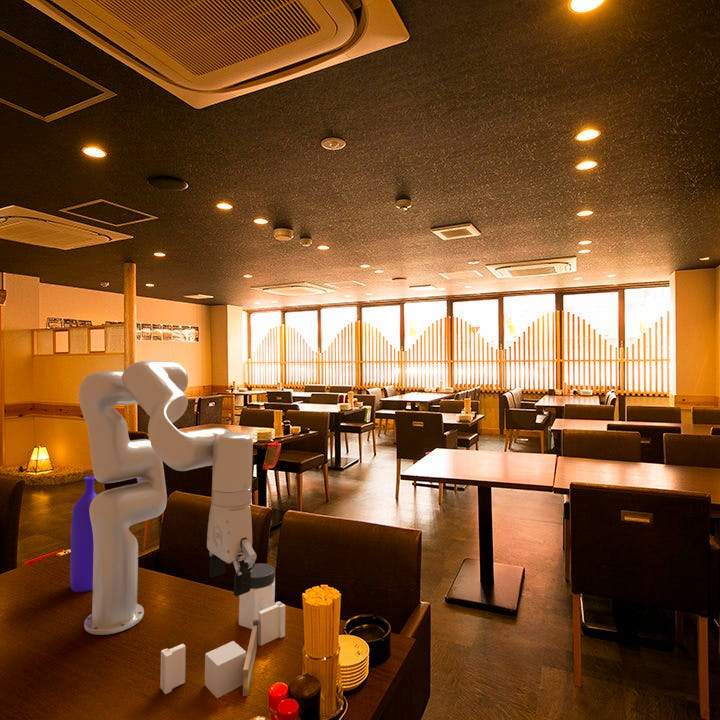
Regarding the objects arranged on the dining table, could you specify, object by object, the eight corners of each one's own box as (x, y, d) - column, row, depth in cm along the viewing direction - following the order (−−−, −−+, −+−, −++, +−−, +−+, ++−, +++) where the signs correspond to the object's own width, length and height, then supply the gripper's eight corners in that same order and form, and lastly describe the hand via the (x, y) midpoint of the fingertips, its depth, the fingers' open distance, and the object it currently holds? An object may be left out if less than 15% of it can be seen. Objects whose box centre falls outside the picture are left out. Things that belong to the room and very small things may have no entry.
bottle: (84, 577, 132) (87, 473, 132) (111, 580, 130) (113, 474, 131) (62, 591, 123) (64, 480, 124) (90, 594, 122) (92, 481, 123)
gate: (242, 696, 85) (242, 667, 85) (252, 643, 101) (253, 619, 101) (248, 695, 85) (249, 667, 85) (258, 643, 101) (258, 619, 101)
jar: (244, 634, 105) (245, 581, 105) (233, 617, 112) (234, 568, 112) (281, 622, 110) (281, 572, 110) (268, 607, 117) (268, 560, 117)
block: (204, 684, 88) (205, 653, 88) (232, 670, 92) (233, 640, 92) (217, 698, 85) (217, 665, 85) (245, 683, 89) (246, 651, 89)
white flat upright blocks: (160, 687, 87) (161, 650, 87) (278, 631, 106) (279, 601, 106) (165, 694, 85) (166, 656, 85) (284, 636, 104) (285, 605, 104)
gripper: (194, 490, 93) (191, 574, 93) (236, 511, 81) (233, 608, 81) (227, 484, 98) (225, 563, 98) (272, 503, 86) (270, 594, 86)
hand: (229, 584), depth 90 cm, fingers open, 9 cm apart
